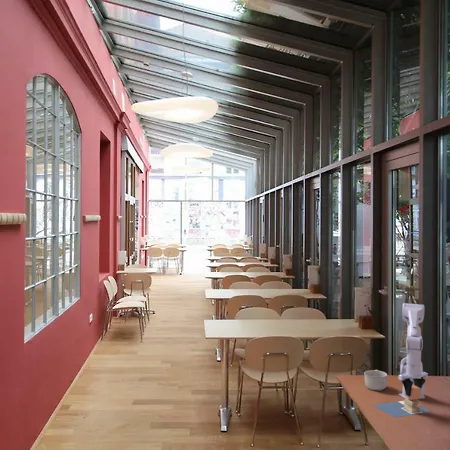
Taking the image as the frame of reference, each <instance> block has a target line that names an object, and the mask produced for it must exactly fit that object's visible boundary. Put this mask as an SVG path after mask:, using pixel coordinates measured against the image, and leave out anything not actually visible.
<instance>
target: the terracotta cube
mask: <svg viewBox="0 0 450 450" xmlns="http://www.w3.org/2000/svg"><path fill="white" fill-rule="evenodd" d="M420 395H421V388H419V387H417V386H415V385H412V388H411V395H410V396H407V395H406V392H405V396H406V397H408V398H410V399H412V400H414V399H416V400H420Z"/></svg>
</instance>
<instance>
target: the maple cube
mask: <svg viewBox="0 0 450 450" xmlns="http://www.w3.org/2000/svg"><path fill="white" fill-rule="evenodd" d="M403 401H404V409H405V410H407V411H409V412H411V413H413V412H420V406H421V401H420V399H414V400H412V399H410V398H404V400H403Z"/></svg>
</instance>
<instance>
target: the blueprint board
mask: <svg viewBox="0 0 450 450" xmlns="http://www.w3.org/2000/svg"><path fill="white" fill-rule="evenodd" d="M404 401H405V400H401V401H392V402H385V403H377V404H373V406H374V407H375V408H377V409H379V410H381V412H382V411H383V412H384V413H386V414H388V415H389V416H391V417H393V418H401V417H406V416H413V415H414V416H415V415H419V414H427V413H431V412H432V411H431V410H429V409H426V408H425V407H423V406H421V405H420V412H413V413H411V412H409V411H407V410H405V409H404Z"/></svg>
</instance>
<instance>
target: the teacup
mask: <svg viewBox="0 0 450 450" xmlns="http://www.w3.org/2000/svg"><path fill="white" fill-rule="evenodd" d="M363 374H364V384H365V386H366V387H367V388H368V390H372V391H379V392H380V391H384V389H386V388H387V386H388V374H387V373H386V372H385V371H382V370H378V369H375V370H374V369H372V370H365V371H364V373H363Z"/></svg>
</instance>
